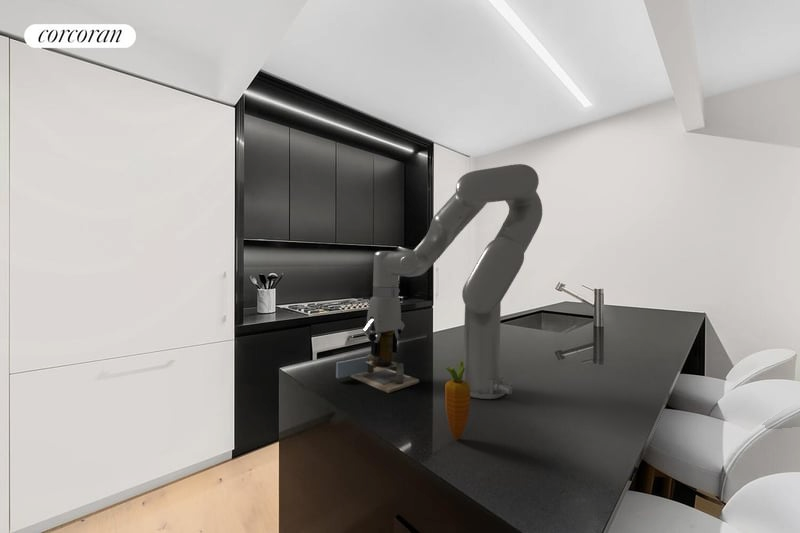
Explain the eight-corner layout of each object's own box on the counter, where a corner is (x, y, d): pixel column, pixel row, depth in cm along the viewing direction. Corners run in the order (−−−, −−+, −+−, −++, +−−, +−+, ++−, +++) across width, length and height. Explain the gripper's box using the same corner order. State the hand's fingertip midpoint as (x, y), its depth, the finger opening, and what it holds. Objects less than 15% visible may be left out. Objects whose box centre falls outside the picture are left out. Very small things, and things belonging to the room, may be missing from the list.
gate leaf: (366, 370, 103) (366, 356, 103) (367, 371, 102) (368, 357, 102) (336, 377, 96) (336, 362, 96) (337, 378, 95) (338, 363, 95)
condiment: (384, 358, 104) (385, 320, 104) (402, 365, 98) (403, 324, 98) (364, 362, 99) (366, 322, 99) (381, 370, 93) (383, 327, 93)
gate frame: (419, 382, 97) (419, 361, 97) (388, 393, 88) (388, 370, 88) (380, 368, 109) (381, 350, 109) (350, 376, 101) (350, 357, 101)
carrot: (452, 448, 62) (454, 367, 62) (439, 435, 66) (440, 360, 66) (475, 443, 64) (476, 364, 64) (460, 431, 68) (461, 358, 68)
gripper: (398, 290, 107) (396, 346, 107) (354, 293, 95) (352, 356, 95) (415, 292, 102) (413, 351, 102) (370, 295, 90) (369, 361, 90)
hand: (384, 353), depth 99 cm, fingers closed on condiment, 6 cm apart
